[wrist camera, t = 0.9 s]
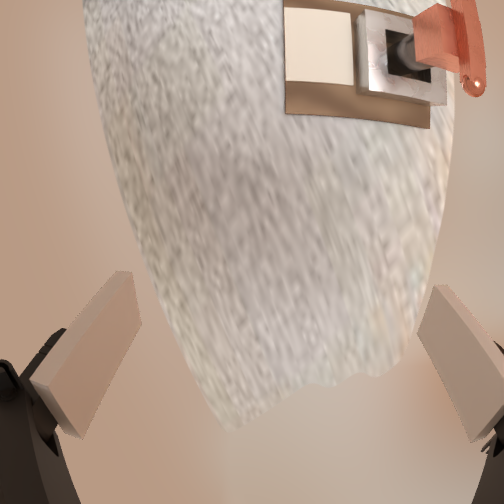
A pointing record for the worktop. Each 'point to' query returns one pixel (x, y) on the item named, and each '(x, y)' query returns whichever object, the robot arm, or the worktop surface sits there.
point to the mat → (318, 46)
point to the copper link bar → (444, 45)
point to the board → (343, 96)
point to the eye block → (375, 63)
